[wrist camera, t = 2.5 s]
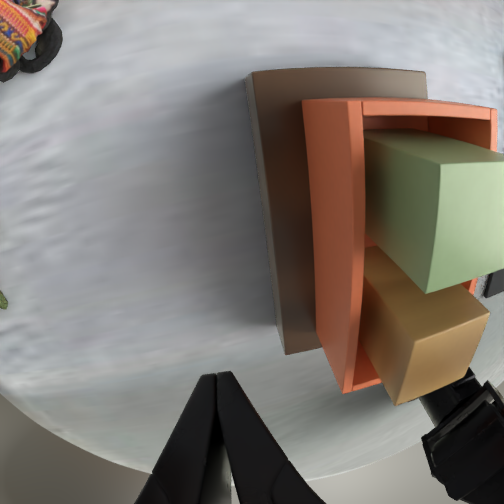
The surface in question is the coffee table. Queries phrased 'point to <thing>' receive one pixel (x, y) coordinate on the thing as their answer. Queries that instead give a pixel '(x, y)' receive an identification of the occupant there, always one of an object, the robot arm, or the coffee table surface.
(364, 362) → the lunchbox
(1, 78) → the figurine
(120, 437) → the coffee table surface
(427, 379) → the beech block
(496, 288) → the mat
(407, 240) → the sage block
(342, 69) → the stand
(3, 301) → the sculpture
